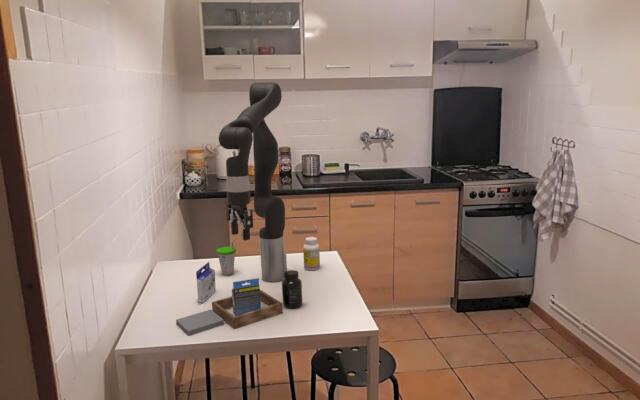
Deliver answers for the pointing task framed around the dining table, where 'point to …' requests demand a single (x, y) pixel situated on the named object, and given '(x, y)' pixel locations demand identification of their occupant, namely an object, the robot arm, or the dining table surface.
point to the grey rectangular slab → (199, 322)
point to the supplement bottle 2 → (311, 254)
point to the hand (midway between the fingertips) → (240, 237)
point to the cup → (227, 259)
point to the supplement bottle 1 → (292, 290)
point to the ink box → (205, 283)
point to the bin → (250, 317)
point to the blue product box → (246, 296)
